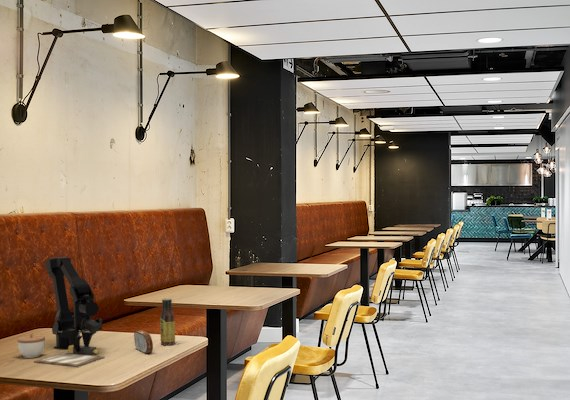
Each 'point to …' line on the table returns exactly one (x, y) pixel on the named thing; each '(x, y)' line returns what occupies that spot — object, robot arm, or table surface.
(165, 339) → the sauce bottle
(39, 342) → the lidded jar
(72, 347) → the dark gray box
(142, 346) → the tin
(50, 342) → the table surface
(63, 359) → the writing board
